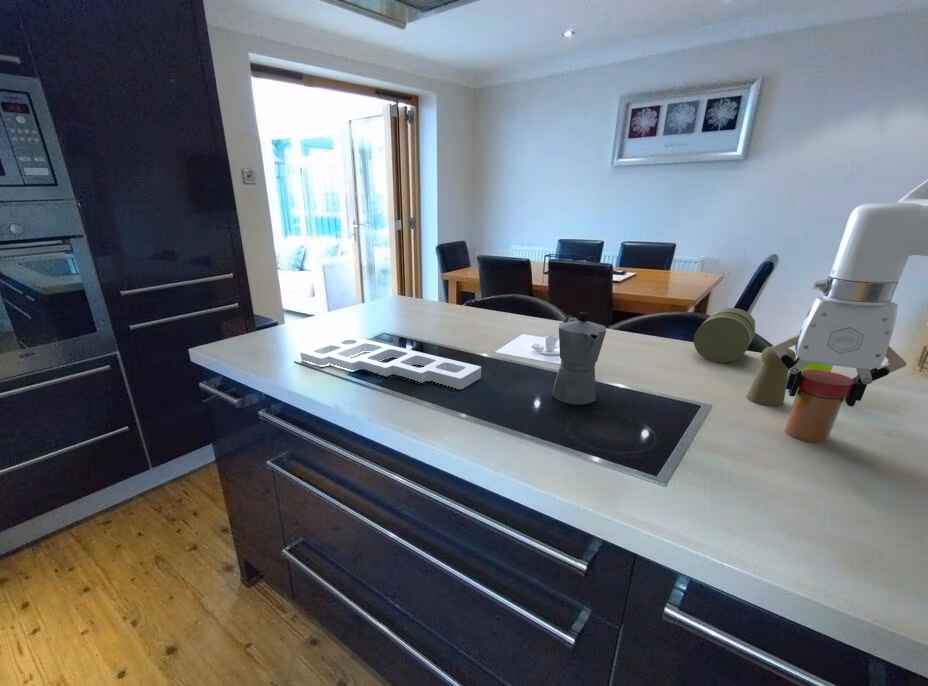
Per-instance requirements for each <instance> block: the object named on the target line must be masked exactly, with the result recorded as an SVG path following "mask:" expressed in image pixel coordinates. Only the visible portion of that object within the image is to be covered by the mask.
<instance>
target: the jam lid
mask: <svg viewBox="0 0 928 686" xmlns="http://www.w3.org/2000/svg"><path fill="white" fill-rule="evenodd" d="M801 374H802V378H801V381H800V384H799V388H801V389H803V390H805V391H808V392H810V393H814V394H818V395H822V396H828V397H847V396H849V395H850V394H851V391H852V389H853V386H854V383H855V382H854V380H853V378H852V377H849V376H847V375H844V374H841V373H838V372H832V371H831V372H828V371H821V370H805V371H802V372H801Z"/></svg>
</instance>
